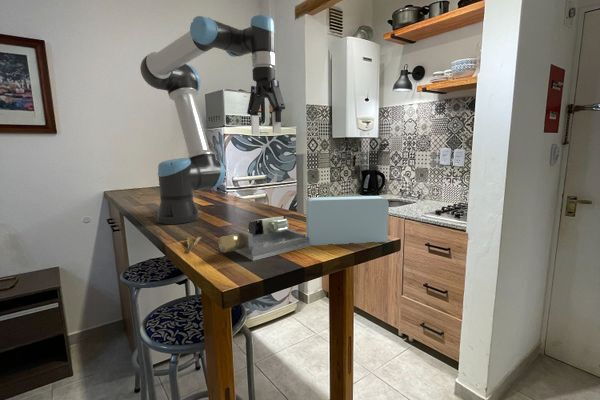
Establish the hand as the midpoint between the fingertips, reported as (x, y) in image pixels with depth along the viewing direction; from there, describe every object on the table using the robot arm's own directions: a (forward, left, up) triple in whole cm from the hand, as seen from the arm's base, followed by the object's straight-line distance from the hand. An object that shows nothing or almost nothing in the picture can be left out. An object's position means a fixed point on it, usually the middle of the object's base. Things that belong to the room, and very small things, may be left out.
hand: (265, 133), depth 111 cm
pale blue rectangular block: (+32, +6, -32) cm, 46 cm away
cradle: (+23, -14, -32) cm, 42 cm away
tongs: (+8, -30, -32) cm, 45 cm away
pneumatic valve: (+21, -8, -27) cm, 36 cm away
